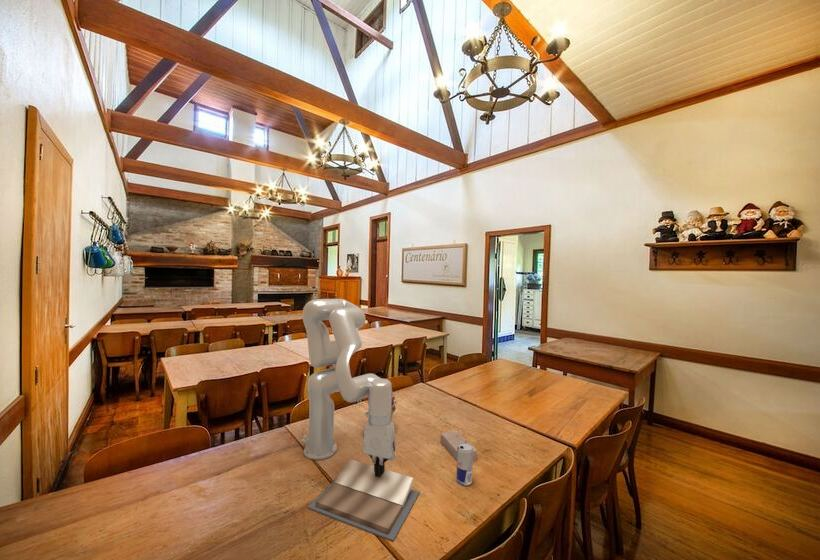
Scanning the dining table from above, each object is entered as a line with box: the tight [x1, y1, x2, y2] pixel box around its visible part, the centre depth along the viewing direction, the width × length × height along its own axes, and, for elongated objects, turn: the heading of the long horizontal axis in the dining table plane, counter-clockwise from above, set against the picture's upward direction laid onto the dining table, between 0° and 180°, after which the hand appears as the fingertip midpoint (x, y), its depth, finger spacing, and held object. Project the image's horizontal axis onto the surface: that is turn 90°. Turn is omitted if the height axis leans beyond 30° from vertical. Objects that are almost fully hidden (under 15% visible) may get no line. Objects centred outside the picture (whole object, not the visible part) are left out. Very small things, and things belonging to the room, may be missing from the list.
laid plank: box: [316, 483, 402, 534], centre depth 90 cm, size 24×9×2 cm, turn 68°
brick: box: [439, 429, 478, 463], centre depth 123 cm, size 17×8×5 cm, turn 22°
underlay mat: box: [307, 476, 421, 542], centre depth 94 cm, size 28×20×1 cm
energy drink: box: [455, 443, 474, 487], centre depth 105 cm, size 5×5×12 cm
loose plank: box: [335, 458, 414, 509], centre depth 98 cm, size 24×9×2 cm, turn 68°
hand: (379, 474), depth 99 cm, fingers closed
